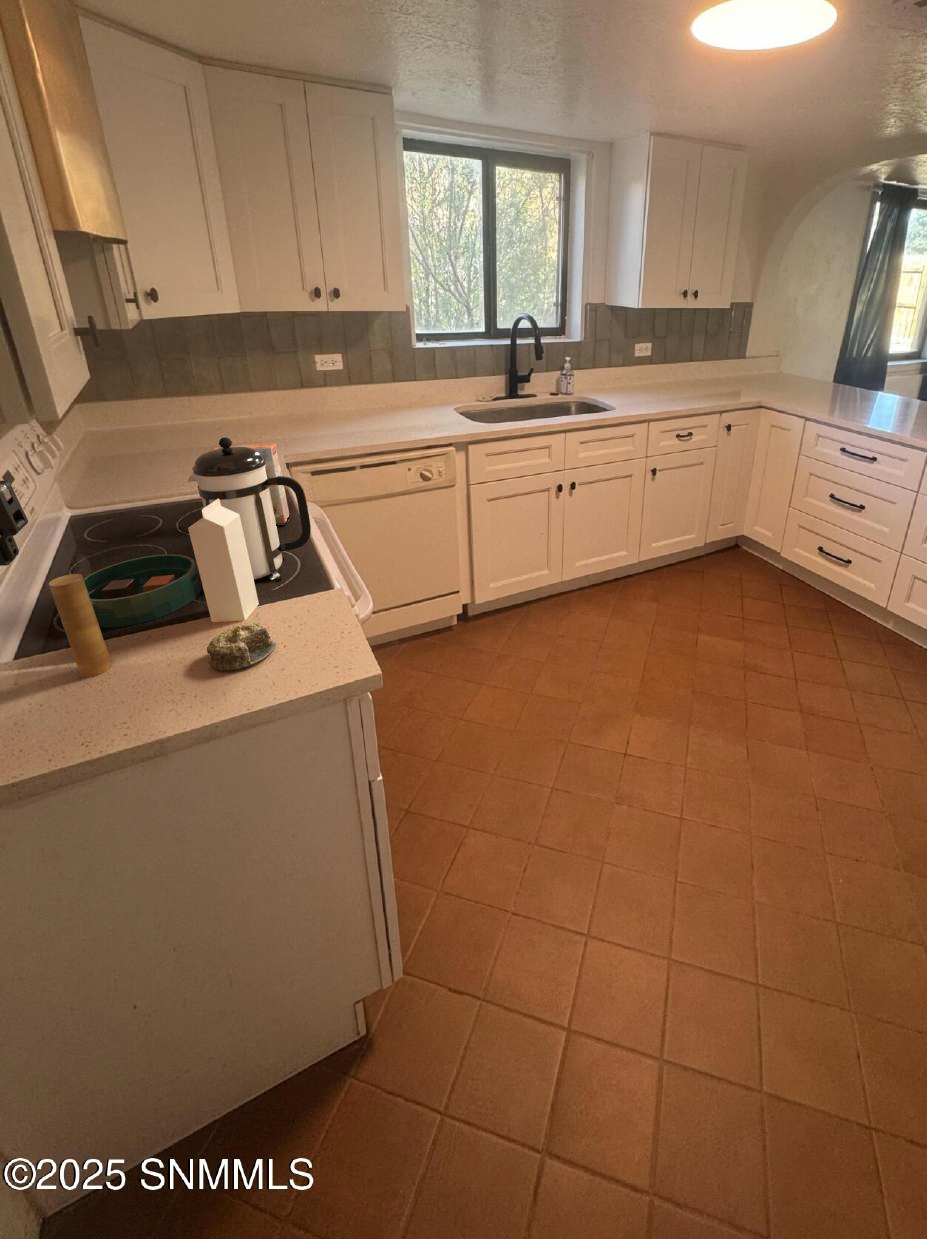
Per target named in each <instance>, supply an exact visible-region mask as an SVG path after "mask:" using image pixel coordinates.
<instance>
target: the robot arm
mask: <svg viewBox="0 0 927 1239" xmlns="http://www.w3.org/2000/svg"><path fill="white" fill-rule="evenodd" d="M28 523H29V519H28V517H27V515H26V513H25V511H24V509H23V507H22V505H21V503H20V500H19V498H18V497H17V494H16V492H15V490H14V487H13V486H12V484H11V483H10V482H9V481H8V480H0V567H2V566H4V567H5V566H6V567H7V566H10V565H11V563H12V562H13V561H14V560H15V559H16V557H17V556H18V555H19V553H20V550H19V547H18V545H17V543H16V540H15V538H14V536H17V534H18V533H19V532H20V531H22V529H24V527H26V526H27V524H28Z"/></svg>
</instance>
